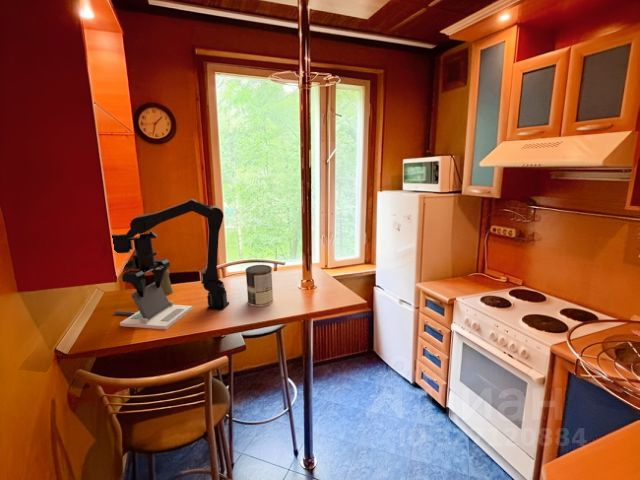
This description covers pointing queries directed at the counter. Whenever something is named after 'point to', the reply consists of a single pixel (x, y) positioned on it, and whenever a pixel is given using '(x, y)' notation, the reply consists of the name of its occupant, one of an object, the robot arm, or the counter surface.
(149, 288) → the lever
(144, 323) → the switch plate
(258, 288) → the coffee can
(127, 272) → the robot arm
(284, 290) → the counter surface
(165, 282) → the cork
